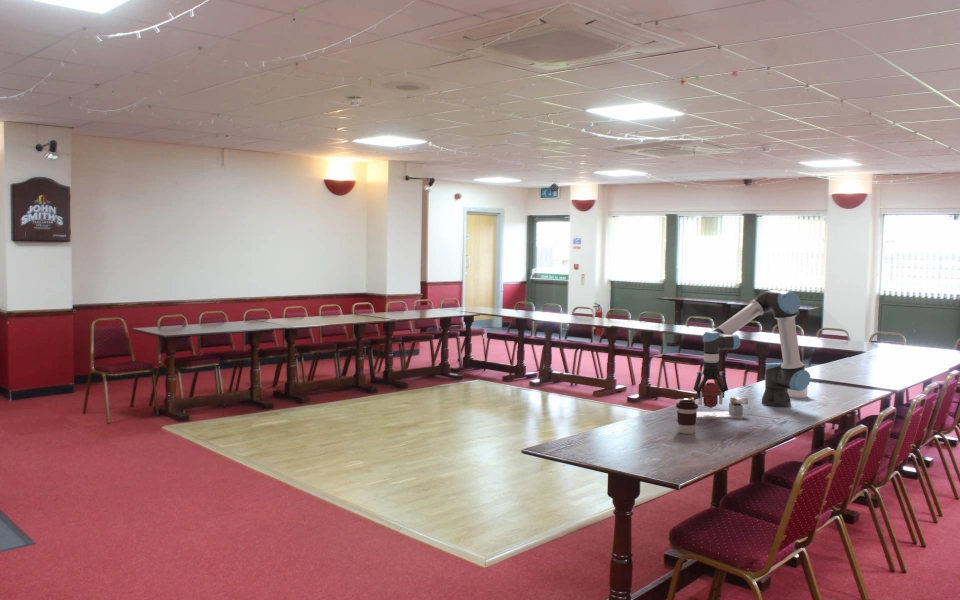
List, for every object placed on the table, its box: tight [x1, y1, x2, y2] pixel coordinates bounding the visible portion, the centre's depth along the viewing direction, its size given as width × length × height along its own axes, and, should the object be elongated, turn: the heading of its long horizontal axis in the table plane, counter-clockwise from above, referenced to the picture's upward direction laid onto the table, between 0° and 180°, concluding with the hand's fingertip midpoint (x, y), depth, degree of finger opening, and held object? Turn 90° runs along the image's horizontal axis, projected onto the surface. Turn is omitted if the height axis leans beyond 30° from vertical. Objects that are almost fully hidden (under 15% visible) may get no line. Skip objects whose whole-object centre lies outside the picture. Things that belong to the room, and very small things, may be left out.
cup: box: [788, 387, 808, 399], centre depth 440 cm, size 12×12×12 cm
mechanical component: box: [701, 381, 721, 409], centre depth 389 cm, size 12×10×10 cm
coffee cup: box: [675, 400, 699, 435], centre depth 355 cm, size 10×10×15 cm
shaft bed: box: [676, 396, 749, 420], centre depth 389 cm, size 36×12×10 cm, turn 92°
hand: (710, 404), depth 389 cm, fingers closed on mechanical component, 10 cm apart
